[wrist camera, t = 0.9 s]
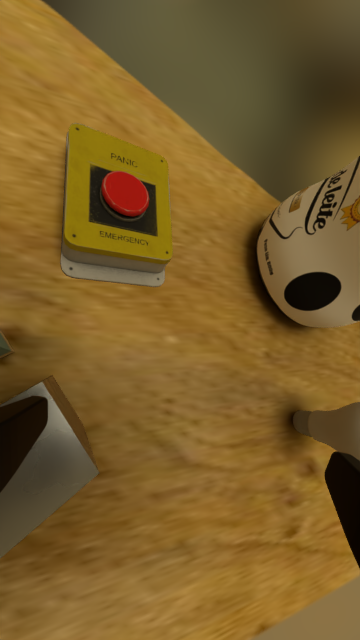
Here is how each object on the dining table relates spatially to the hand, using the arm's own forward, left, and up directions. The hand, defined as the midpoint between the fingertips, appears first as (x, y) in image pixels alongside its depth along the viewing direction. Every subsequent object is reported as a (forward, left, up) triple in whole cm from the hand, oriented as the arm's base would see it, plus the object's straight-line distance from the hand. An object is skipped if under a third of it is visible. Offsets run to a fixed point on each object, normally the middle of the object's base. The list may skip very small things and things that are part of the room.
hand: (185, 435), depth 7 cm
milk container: (+29, 0, -13) cm, 32 cm away
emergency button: (+9, +14, -14) cm, 22 cm away
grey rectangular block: (-5, +1, -13) cm, 14 cm away
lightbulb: (+16, -16, -13) cm, 26 cm away
